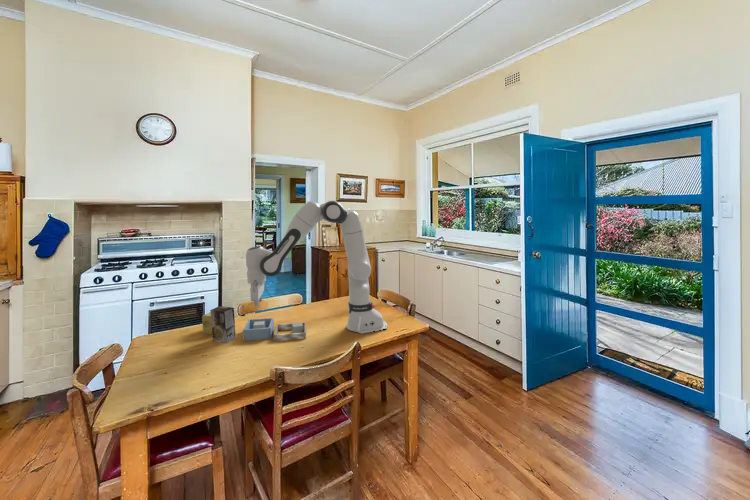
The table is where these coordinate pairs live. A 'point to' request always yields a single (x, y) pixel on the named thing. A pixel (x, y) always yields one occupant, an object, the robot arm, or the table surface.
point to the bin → (258, 329)
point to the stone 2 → (297, 327)
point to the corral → (288, 336)
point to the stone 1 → (259, 324)
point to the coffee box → (223, 324)
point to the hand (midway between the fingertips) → (258, 304)
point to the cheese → (207, 323)
